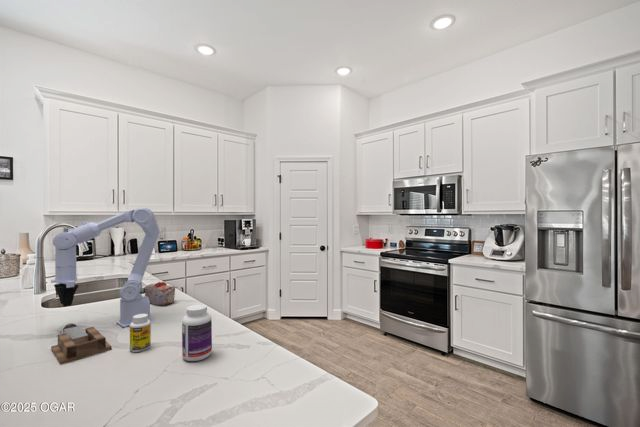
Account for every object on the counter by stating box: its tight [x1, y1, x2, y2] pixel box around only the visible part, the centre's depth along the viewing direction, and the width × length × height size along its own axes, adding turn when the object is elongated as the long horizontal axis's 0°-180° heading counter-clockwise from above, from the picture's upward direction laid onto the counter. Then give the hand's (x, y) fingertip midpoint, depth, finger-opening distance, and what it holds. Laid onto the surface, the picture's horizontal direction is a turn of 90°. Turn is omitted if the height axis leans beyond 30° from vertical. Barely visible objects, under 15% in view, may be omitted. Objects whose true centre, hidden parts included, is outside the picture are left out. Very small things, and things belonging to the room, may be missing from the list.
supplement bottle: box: [129, 314, 152, 353], centre depth 93 cm, size 6×6×10 cm
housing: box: [50, 326, 112, 365], centre depth 92 cm, size 14×12×4 cm
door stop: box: [62, 322, 88, 345], centre depth 98 cm, size 15×4×4 cm, turn 50°
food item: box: [144, 281, 176, 306], centre depth 139 cm, size 14×8×10 cm, turn 69°
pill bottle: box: [181, 304, 213, 362], centre depth 88 cm, size 8×8×14 cm
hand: (66, 304), depth 106 cm, fingers open, 4 cm apart
